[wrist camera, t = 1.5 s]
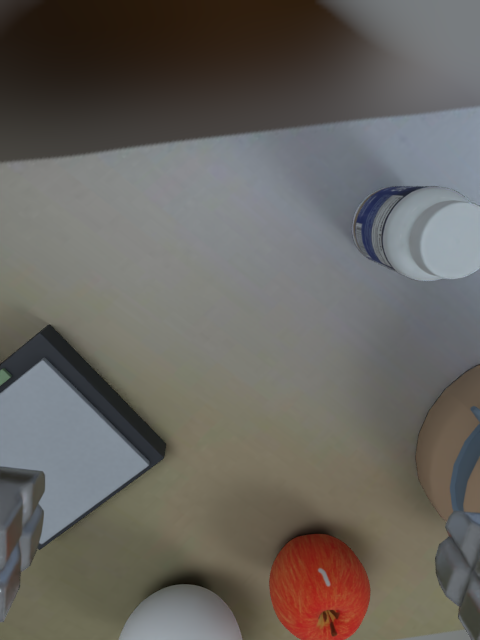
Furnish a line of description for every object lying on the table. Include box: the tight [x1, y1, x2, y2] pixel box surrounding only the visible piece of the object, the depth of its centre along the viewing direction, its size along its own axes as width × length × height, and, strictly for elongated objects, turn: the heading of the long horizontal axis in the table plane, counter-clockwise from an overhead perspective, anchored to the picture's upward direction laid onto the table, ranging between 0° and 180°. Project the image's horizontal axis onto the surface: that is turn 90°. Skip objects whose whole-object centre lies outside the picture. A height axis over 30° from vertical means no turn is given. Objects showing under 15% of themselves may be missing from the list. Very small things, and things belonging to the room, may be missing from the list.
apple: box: [269, 534, 370, 640], centre depth 37 cm, size 8×8×8 cm
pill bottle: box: [352, 186, 480, 281], centre depth 28 cm, size 5×5×10 cm
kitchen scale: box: [0, 325, 166, 550], centre depth 34 cm, size 13×13×2 cm
